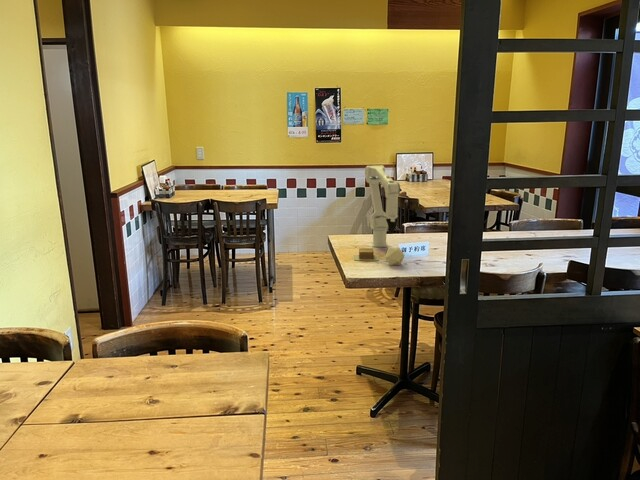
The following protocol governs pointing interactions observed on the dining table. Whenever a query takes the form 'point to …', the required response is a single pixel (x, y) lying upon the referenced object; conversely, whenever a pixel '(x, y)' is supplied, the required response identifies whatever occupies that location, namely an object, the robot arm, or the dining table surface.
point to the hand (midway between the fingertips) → (391, 232)
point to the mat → (356, 258)
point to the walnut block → (366, 253)
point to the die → (394, 256)
